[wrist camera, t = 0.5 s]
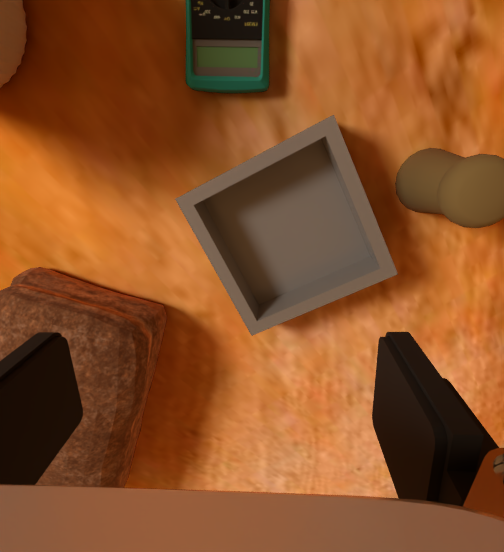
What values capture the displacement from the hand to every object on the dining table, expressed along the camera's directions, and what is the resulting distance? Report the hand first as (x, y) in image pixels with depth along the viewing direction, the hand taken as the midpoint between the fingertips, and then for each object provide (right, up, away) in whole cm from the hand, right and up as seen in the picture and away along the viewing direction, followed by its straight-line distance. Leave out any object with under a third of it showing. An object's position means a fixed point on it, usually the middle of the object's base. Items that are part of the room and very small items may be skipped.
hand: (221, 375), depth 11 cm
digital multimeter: (-1, +27, +21) cm, 34 cm away
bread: (-20, -10, +35) cm, 42 cm away
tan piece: (+18, +12, +24) cm, 33 cm away
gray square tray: (+4, +8, +26) cm, 28 cm away
